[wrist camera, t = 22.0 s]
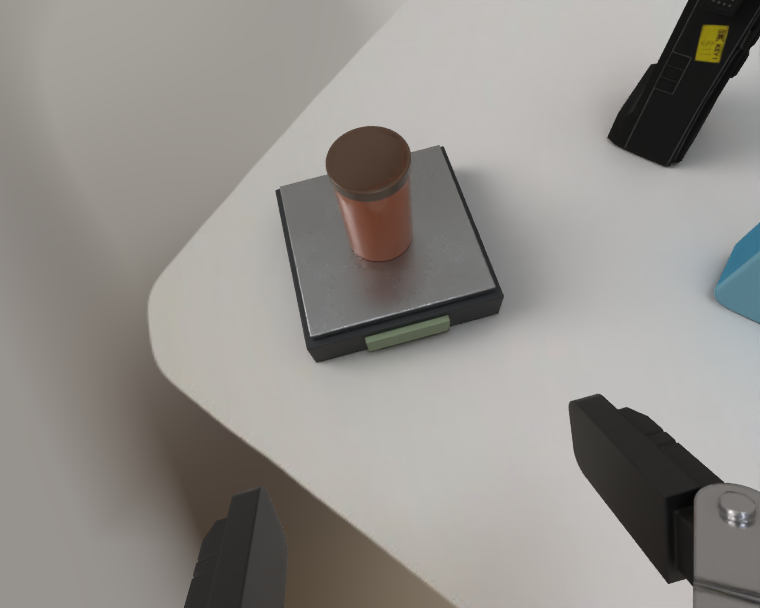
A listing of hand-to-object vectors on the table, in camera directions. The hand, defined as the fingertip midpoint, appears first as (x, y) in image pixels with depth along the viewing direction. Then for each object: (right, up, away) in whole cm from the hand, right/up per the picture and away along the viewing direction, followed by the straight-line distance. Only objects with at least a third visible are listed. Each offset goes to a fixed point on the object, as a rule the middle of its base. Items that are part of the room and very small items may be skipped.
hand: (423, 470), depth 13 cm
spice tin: (-1, +9, +23) cm, 25 cm away
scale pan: (-1, +9, +24) cm, 26 cm away
